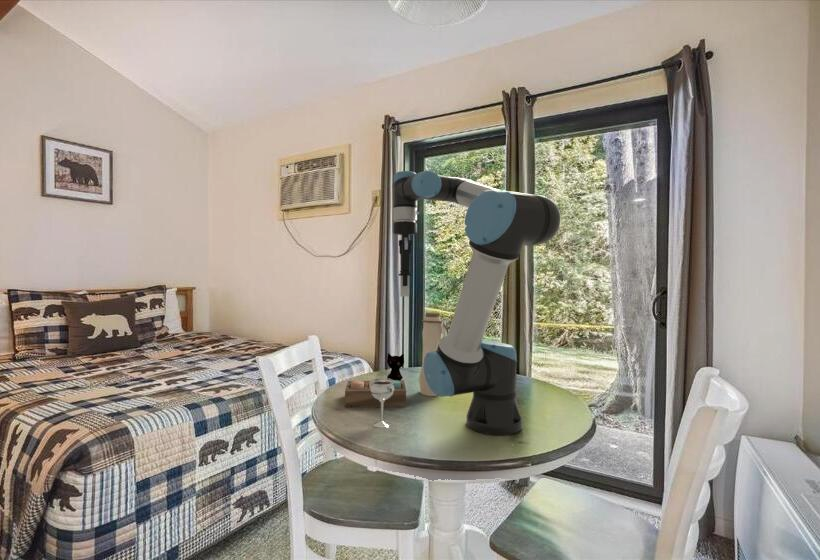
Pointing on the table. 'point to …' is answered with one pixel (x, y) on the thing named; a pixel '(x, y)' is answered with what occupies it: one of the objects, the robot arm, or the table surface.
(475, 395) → the robot arm
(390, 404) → the console
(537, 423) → the table surface
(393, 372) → the cat figurine
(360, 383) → the terracotta button
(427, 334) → the water bottle
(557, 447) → the table surface
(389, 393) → the wineglass
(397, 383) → the teal button
